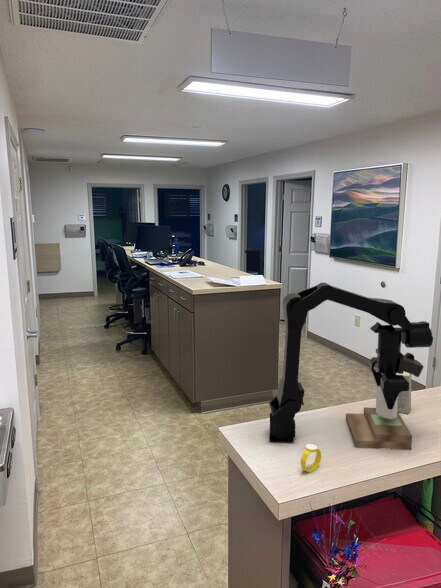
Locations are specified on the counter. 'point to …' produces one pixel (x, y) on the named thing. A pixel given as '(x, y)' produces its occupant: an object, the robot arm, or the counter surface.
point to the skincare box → (404, 396)
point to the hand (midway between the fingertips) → (386, 402)
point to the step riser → (378, 431)
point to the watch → (305, 454)
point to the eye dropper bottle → (384, 406)
